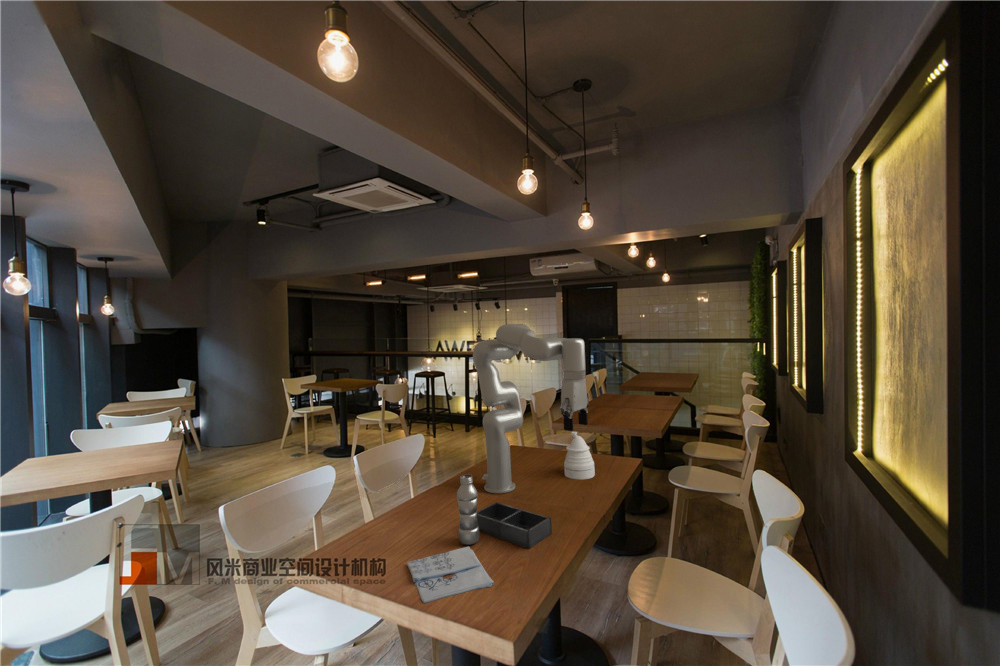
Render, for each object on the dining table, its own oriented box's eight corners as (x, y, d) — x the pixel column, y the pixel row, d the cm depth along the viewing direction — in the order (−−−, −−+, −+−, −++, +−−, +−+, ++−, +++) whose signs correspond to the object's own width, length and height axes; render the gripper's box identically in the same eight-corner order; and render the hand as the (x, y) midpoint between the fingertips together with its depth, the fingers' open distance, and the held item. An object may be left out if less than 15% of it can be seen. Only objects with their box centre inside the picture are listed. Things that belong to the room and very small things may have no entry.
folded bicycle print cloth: (472, 551, 128) (471, 544, 128) (495, 588, 109) (495, 580, 109) (406, 566, 122) (405, 558, 122) (418, 608, 103) (418, 599, 103)
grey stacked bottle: (483, 538, 135) (480, 473, 135) (474, 549, 129) (471, 480, 129) (464, 536, 137) (461, 472, 137) (454, 546, 131) (451, 479, 131)
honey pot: (558, 475, 190) (556, 434, 190) (575, 467, 199) (573, 428, 199) (584, 481, 181) (582, 437, 181) (600, 473, 191) (598, 431, 191)
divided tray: (473, 529, 142) (472, 513, 142) (497, 516, 151) (496, 501, 151) (529, 549, 127) (528, 531, 127) (551, 533, 136) (551, 517, 136)
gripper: (576, 372, 155) (578, 421, 155) (550, 378, 141) (552, 431, 141) (596, 373, 150) (598, 423, 150) (571, 379, 136) (573, 434, 137)
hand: (576, 427), depth 146 cm, fingers open, 9 cm apart
